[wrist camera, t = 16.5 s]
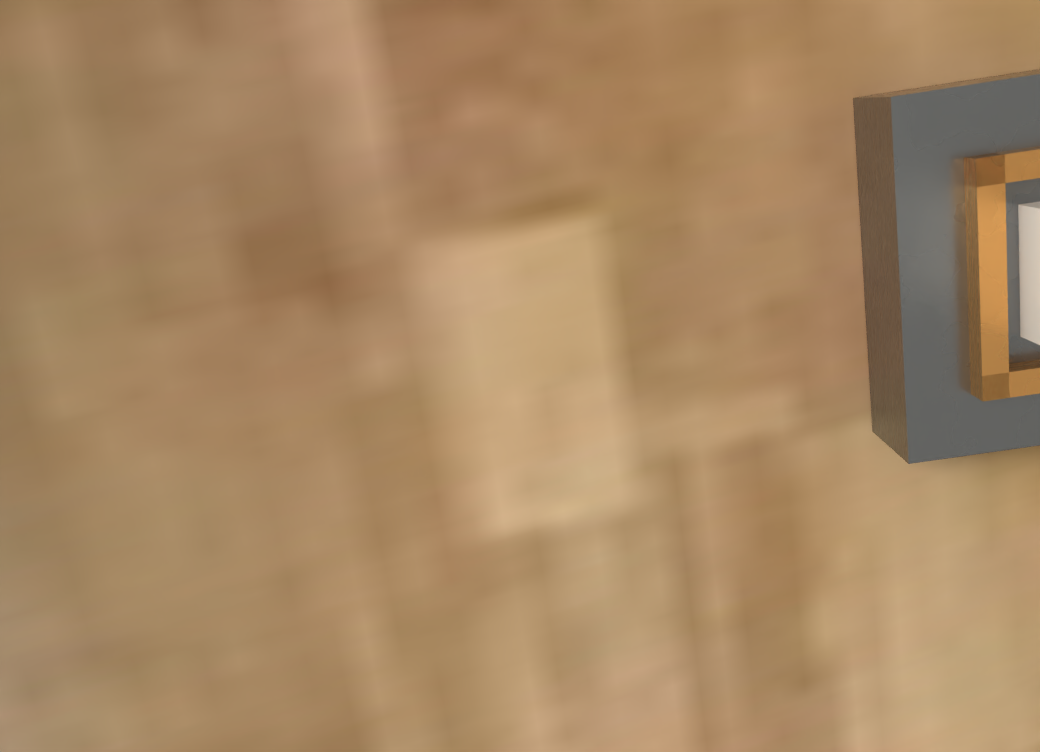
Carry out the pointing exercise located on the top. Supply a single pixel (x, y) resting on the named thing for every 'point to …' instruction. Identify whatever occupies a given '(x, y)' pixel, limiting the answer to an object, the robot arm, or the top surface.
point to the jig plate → (949, 264)
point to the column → (1029, 270)
